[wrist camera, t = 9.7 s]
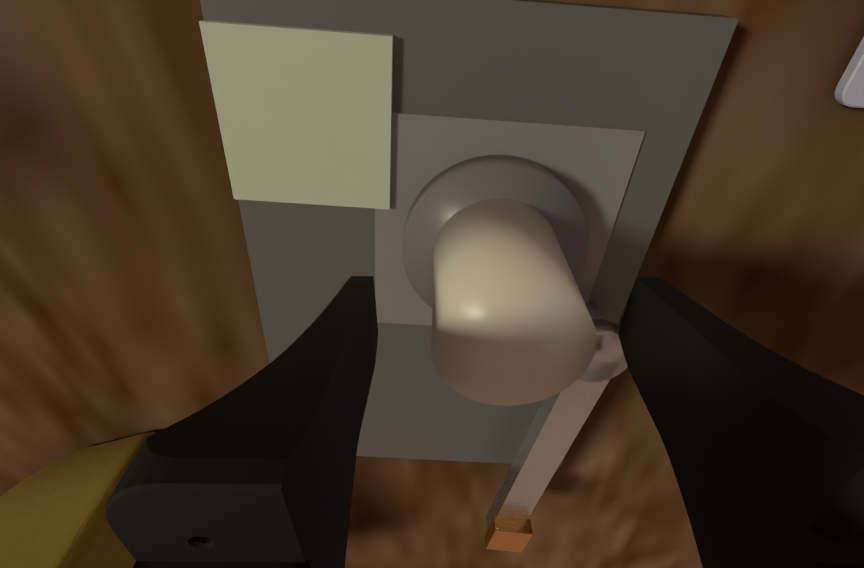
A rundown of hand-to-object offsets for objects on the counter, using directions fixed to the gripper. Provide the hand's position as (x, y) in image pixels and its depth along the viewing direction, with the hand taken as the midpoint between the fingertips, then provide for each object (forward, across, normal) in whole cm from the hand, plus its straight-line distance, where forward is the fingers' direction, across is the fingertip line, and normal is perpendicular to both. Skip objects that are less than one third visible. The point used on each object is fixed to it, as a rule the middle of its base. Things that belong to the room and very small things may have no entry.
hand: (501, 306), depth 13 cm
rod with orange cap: (+2, -3, +9) cm, 10 cm away
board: (+5, +2, +3) cm, 6 cm away
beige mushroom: (+4, 0, 0) cm, 4 cm away
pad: (+5, +6, -4) cm, 8 cm away
